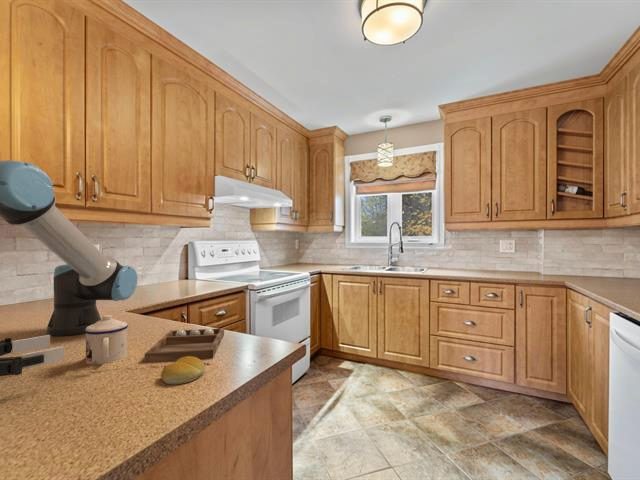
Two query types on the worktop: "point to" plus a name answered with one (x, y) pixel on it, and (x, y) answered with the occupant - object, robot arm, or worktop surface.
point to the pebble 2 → (195, 332)
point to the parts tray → (185, 346)
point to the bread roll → (183, 370)
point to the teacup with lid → (106, 341)
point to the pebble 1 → (180, 333)
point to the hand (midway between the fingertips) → (56, 346)
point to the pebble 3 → (208, 332)
